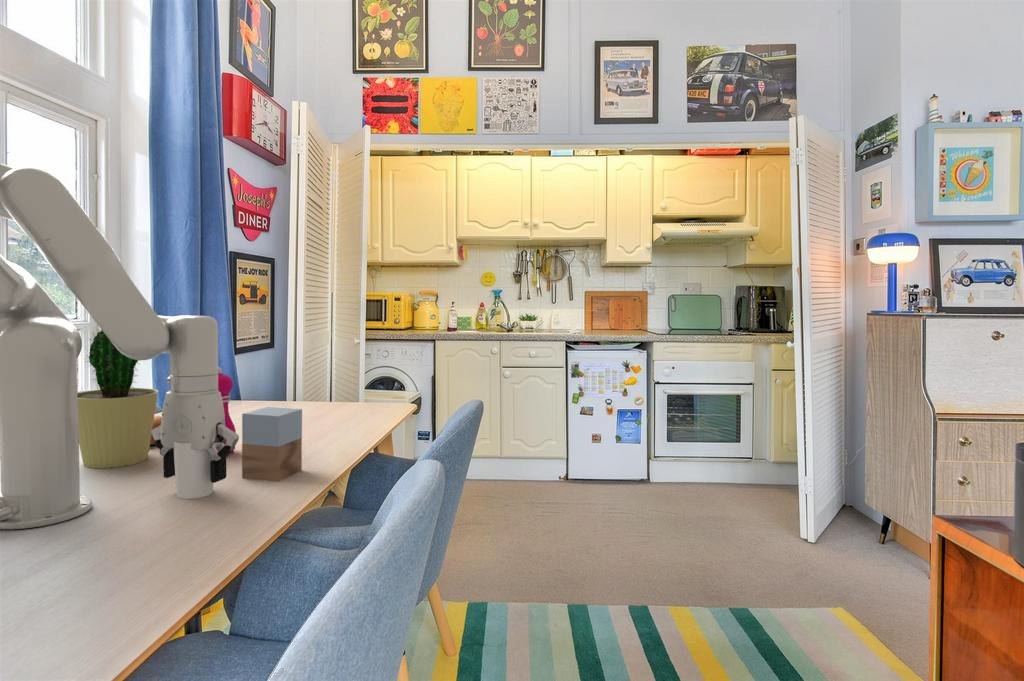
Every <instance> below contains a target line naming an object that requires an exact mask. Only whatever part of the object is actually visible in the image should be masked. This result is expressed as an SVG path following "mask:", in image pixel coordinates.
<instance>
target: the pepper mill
mask: <svg viewBox="0 0 1024 681" xmlns="http://www.w3.org/2000/svg"><path fill="white" fill-rule="evenodd" d="M233 387H234V382H233V380H232V378H231V377H230V376H229V375H226V374H224V373H223V368H221V367H219V366H218V391H219V392H221V396H222V401H223V407H224V414H225V426H226V427H227V428H229V429H230V430H232V431H233V432H235V433H236V434H237V432H236V428H235V424H234V423H233V420H232V418H231V416H230V415H231V414H230V411H229V403H230V401H231V395H230V392H231V391H232V390H233ZM226 442H227V440H226V439H225V441H224V443H223V444H224V445H226ZM216 449H217V447H216ZM217 451H218V452H219V450H218V449H217ZM234 451H235V449H234V450H233V451H232V452H231V453H230V455H232V454H233V453H234Z"/></svg>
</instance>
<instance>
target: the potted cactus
mask: <svg viewBox="0 0 1024 681" xmlns="http://www.w3.org/2000/svg"><path fill="white" fill-rule="evenodd" d="M96 329H97V330H98V331H97V330H96V331H97V333H96V335H95V332H92V336H93V337H92V336H91V339H90V338H88V337H87V340H88V341H90V342H91V343H90V345H88V346H87V348H86V347H85V349H86V350H87V352H88V351H89V352H88V355H87V357H85V360H86V359H87V360H86V361H85V363H87V364H88V363H89V365H87V366H86V368H87V367H89V366H90V367H91V366H92V367H93V368H94V369H93V371H92V372H91V374H93V373H94V375H95V378H93V379H91V381H94V382H93V383H97V384H98V385H96V387H97V386H99V387H98V389H92V390H85V391H80V392H78V420H79V451H80V455H81V460H82V464H83V466H84V467H86V468H89V467H90V468H91V469H111V468H110V467H113V468H120V467H119V466H121V467H126V466H125V465H127V466H131V465H130V464H132V465H135V463H136V464H138V463H141V462H144V461H147V459H148V456H149V452H150V446H151V445H150V440H151V431H152V427H153V421H154V416H155V413H156V408H157V401H158V393H159V390H158V389H155V388H149V387H147V388H145V387H144V388H143V387H133V386H132V384H133V383H134V382H135V383H138V382H137V381H135V380H134V377H138V376H139V377H140V375H138V374H135V371H138V368H137V367H136V365H137V364H138V365H141V364H140V361H141V360H134V359H131V358H128V357H126V356H125V355H123V354H122V353H121V352H120V351H119V350H118V349H117V348H116V347H115V346H114V345H113V343H112V342H111V341H110V340H109V338H108V337H107V336H106V334H105V333H104V332H103V331H102V329H101V328H100V329H98V328H96ZM88 348H89V349H88Z"/></svg>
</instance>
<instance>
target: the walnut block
mask: <svg viewBox="0 0 1024 681" xmlns="http://www.w3.org/2000/svg"><path fill="white" fill-rule="evenodd" d="M302 438H303V437H302ZM302 438H300V439H297V440H294V441H292V442H289V443H287V444H284V445H282V446H279V447H276V446H264V445H252V444H242V443H241V479H245V480H256V481H264V480H265V482H274V481H275V483H276V482H278V483H279V482H281V481H284V480H285V479H287V478H290V477H291V476H293V475H295V474H297V473H299V472H301V471H302V470H303V469H302V468H303V466H302V465H303V463H302V462H303V461H302V459H303V457H302V456H303V455H302V454H303V453H302V452H303V448H302V446H303V443H302V442H303V440H302Z"/></svg>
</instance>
